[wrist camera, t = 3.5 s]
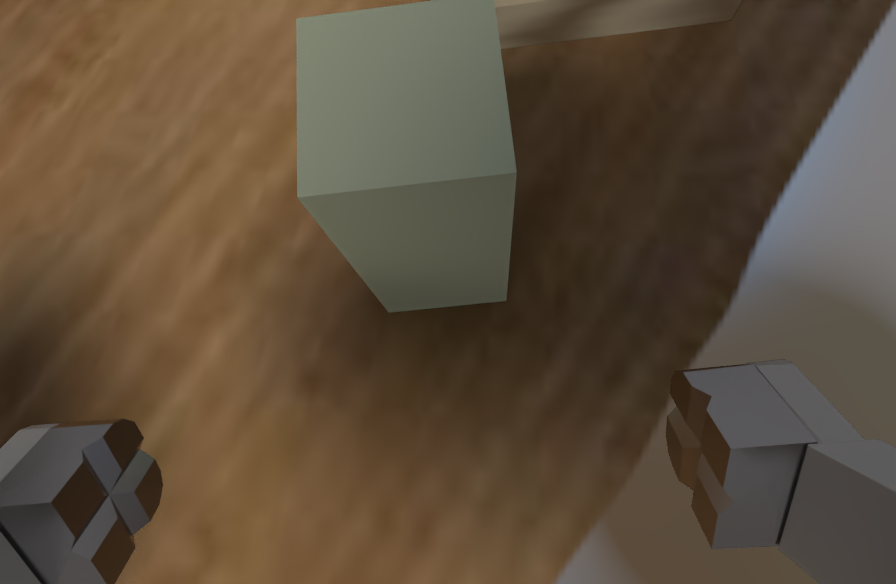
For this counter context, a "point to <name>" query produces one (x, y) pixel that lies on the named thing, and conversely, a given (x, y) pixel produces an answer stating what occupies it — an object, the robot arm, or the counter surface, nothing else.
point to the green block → (409, 149)
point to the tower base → (599, 18)
